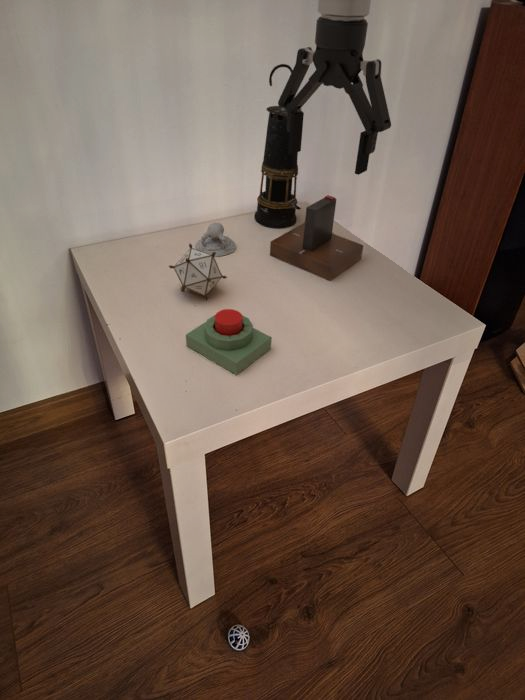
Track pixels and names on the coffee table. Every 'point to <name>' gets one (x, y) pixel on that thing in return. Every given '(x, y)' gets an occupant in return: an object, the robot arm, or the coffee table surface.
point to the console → (316, 253)
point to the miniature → (215, 241)
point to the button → (228, 322)
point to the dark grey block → (319, 222)
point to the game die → (198, 271)
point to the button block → (229, 345)
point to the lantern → (278, 172)
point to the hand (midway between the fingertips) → (326, 162)
